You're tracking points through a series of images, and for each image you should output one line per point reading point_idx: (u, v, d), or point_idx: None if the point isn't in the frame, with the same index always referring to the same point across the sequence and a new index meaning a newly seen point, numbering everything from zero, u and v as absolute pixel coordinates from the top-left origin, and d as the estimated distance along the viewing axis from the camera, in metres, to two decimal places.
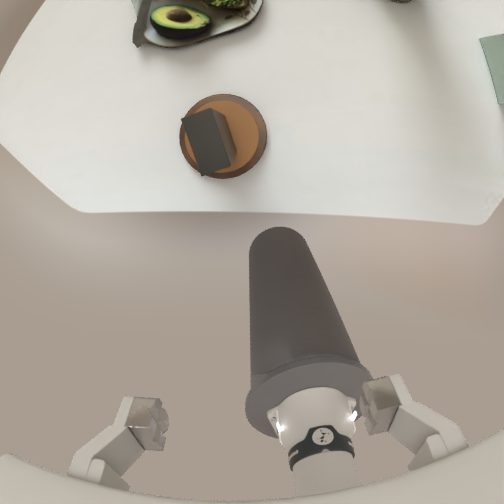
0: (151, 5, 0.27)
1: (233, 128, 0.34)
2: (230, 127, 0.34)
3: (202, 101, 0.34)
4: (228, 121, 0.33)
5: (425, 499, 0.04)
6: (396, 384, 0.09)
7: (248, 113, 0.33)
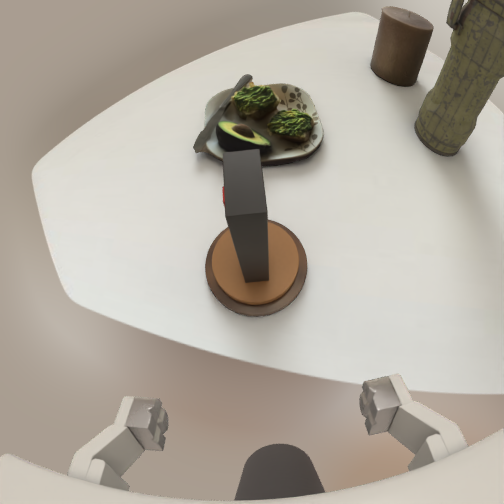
0: (220, 120, 0.39)
1: (270, 253, 0.31)
2: None
3: None
4: None
5: (425, 499, 0.04)
6: (396, 384, 0.09)
7: (291, 240, 0.31)
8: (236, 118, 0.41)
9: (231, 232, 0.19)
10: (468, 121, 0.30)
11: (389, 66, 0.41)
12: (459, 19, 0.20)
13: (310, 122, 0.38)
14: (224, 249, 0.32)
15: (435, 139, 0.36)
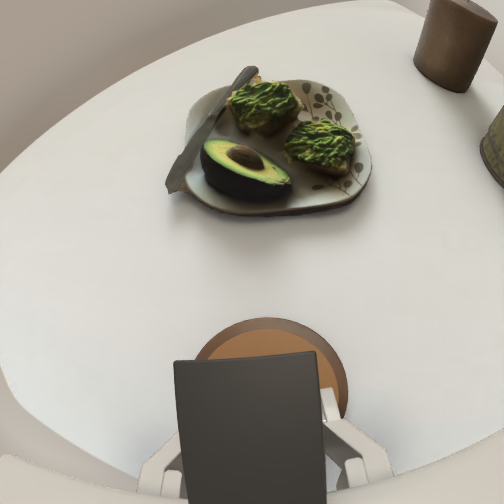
0: (210, 136, 0.25)
1: None
2: None
3: (246, 323, 0.20)
4: None
5: (425, 499, 0.04)
6: (325, 398, 0.09)
7: (327, 365, 0.17)
8: (234, 132, 0.27)
9: None
10: None
11: (442, 65, 0.27)
12: None
13: (351, 143, 0.24)
14: None
15: None
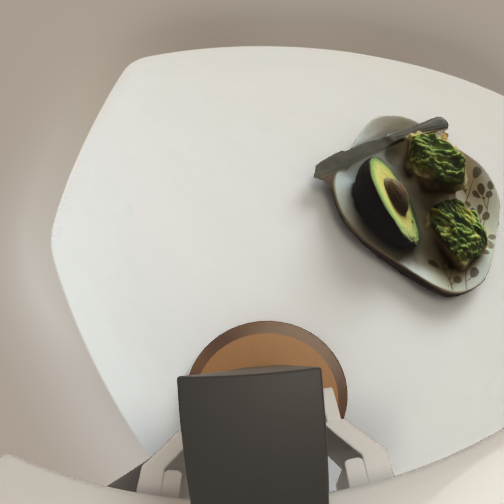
0: (377, 154, 0.24)
1: None
2: None
3: (299, 330, 0.20)
4: None
5: (425, 499, 0.04)
6: (325, 399, 0.09)
7: (327, 370, 0.17)
8: (398, 165, 0.25)
9: None
10: None
11: None
12: None
13: (482, 247, 0.20)
14: None
15: None
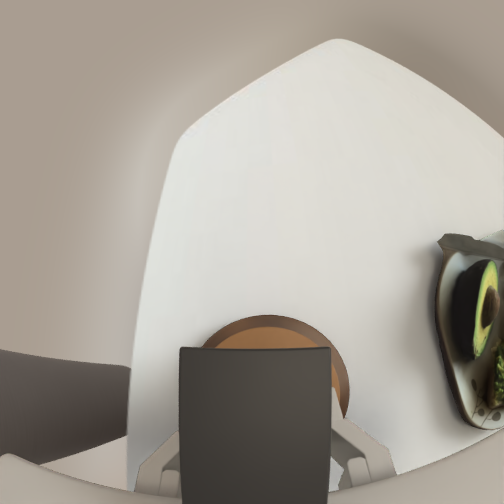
0: (496, 261, 0.19)
1: None
2: None
3: (338, 359, 0.19)
4: None
5: (425, 499, 0.04)
6: None
7: None
8: None
9: None
10: None
11: None
12: None
13: None
14: None
15: None
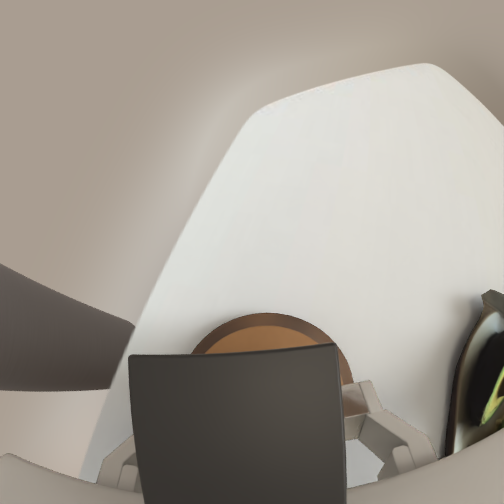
0: None
1: None
2: None
3: None
4: None
5: (425, 499, 0.04)
6: (366, 391, 0.09)
7: None
8: None
9: None
10: None
11: None
12: None
13: None
14: None
15: None
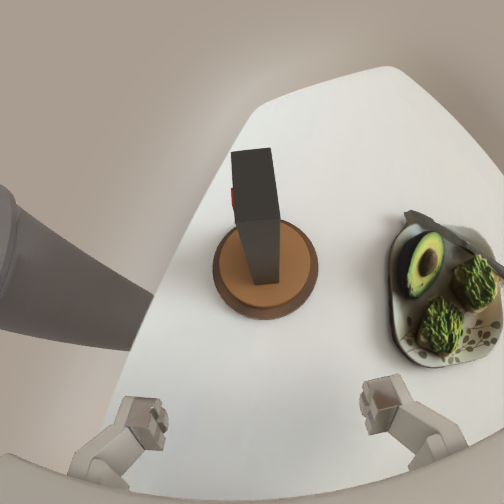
0: (448, 242, 0.29)
1: (280, 254, 0.30)
2: None
3: (315, 258, 0.31)
4: None
5: (425, 499, 0.04)
6: (396, 384, 0.09)
7: (301, 240, 0.30)
8: (455, 263, 0.30)
9: (241, 237, 0.18)
10: None
11: None
12: None
13: (442, 350, 0.25)
14: (232, 250, 0.30)
15: None
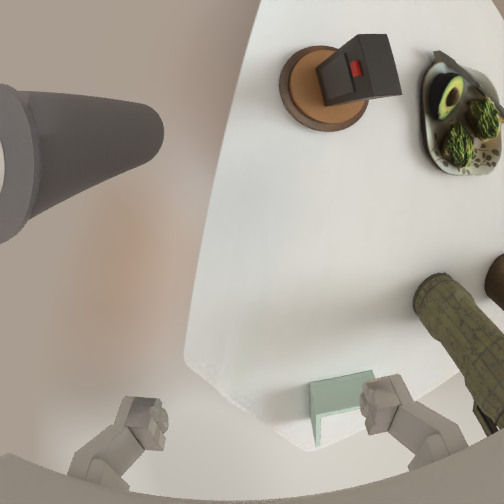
0: (466, 81, 0.28)
1: None
2: None
3: None
4: None
5: (425, 499, 0.04)
6: (396, 384, 0.09)
7: None
8: (469, 97, 0.30)
9: (363, 98, 0.19)
10: (438, 328, 0.36)
11: None
12: None
13: (459, 164, 0.33)
14: (301, 77, 0.29)
15: (429, 289, 0.40)
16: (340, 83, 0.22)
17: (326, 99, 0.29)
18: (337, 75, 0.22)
